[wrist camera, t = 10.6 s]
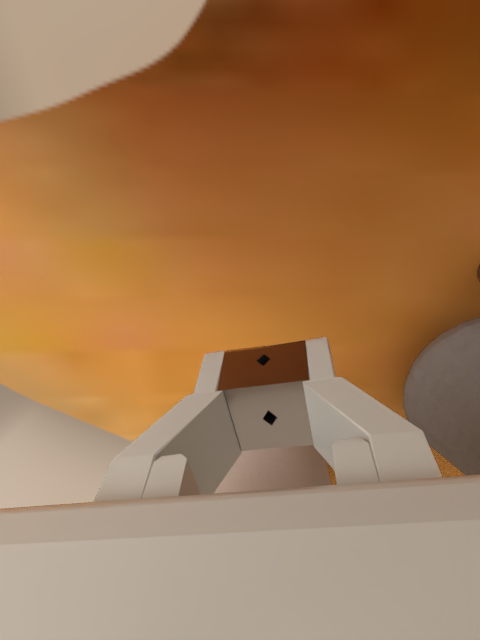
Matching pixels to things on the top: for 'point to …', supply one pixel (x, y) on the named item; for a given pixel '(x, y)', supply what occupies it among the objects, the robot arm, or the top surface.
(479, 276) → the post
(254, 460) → the coffee cup
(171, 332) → the top surface
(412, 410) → the coffee pot
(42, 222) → the top surface
